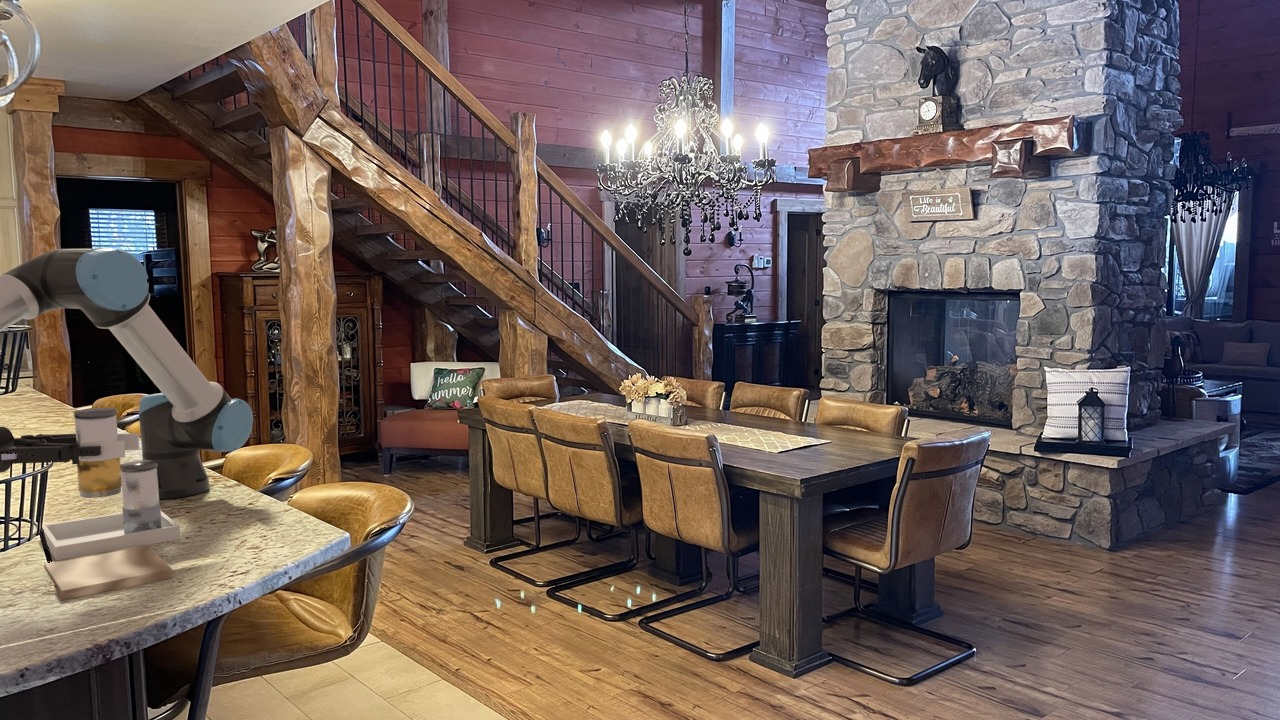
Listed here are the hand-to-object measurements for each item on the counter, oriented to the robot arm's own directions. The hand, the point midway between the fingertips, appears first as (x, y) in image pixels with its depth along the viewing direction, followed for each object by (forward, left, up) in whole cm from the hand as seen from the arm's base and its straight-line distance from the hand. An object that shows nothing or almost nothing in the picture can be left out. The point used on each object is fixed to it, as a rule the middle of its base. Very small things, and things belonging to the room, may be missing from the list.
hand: (131, 445), depth 161 cm
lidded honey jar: (+5, -3, -8) cm, 10 cm away
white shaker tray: (0, -22, -22) cm, 31 cm away
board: (+4, -3, -22) cm, 23 cm away
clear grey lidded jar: (-5, -19, -21) cm, 29 cm away
